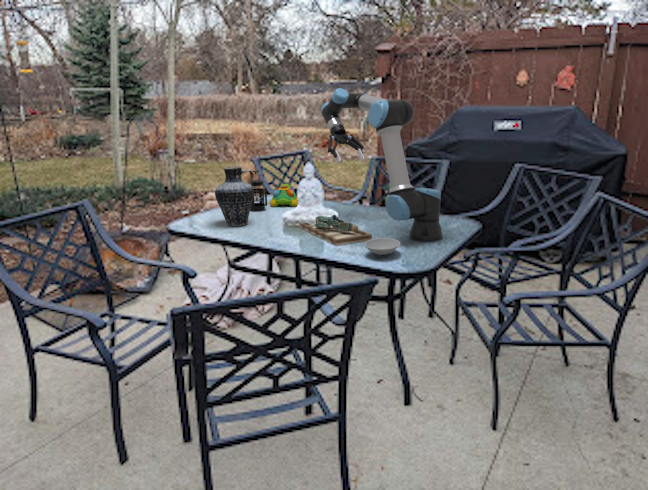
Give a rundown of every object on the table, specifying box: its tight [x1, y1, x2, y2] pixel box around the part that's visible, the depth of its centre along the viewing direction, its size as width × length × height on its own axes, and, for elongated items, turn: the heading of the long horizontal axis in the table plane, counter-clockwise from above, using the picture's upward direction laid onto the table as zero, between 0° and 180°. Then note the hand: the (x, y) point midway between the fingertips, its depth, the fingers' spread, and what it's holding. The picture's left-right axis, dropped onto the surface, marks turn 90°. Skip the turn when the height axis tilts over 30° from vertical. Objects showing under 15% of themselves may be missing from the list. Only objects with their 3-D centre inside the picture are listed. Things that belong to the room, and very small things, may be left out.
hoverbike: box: [315, 214, 359, 234], centre depth 240 cm, size 10×25×8 cm, turn 53°
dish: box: [363, 237, 401, 256], centre depth 208 cm, size 18×14×5 cm
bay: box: [299, 222, 373, 247], centre depth 241 cm, size 37×19×2 cm, turn 28°
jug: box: [214, 165, 255, 227], centre depth 255 cm, size 21×19×30 cm
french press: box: [247, 170, 268, 213], centre depth 289 cm, size 12×9×23 cm
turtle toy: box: [269, 183, 299, 208], centre depth 307 cm, size 17×23×12 cm
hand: (351, 161), depth 248 cm, fingers open, 13 cm apart
